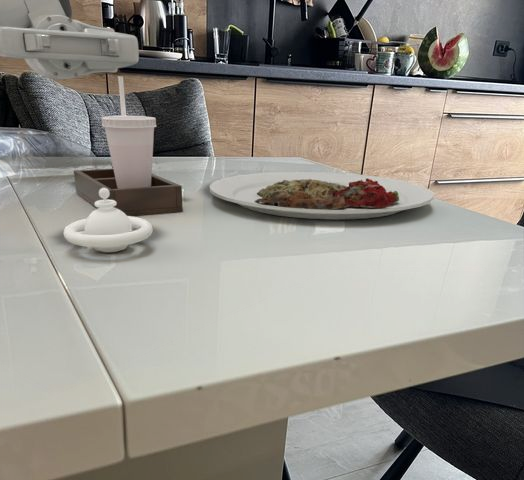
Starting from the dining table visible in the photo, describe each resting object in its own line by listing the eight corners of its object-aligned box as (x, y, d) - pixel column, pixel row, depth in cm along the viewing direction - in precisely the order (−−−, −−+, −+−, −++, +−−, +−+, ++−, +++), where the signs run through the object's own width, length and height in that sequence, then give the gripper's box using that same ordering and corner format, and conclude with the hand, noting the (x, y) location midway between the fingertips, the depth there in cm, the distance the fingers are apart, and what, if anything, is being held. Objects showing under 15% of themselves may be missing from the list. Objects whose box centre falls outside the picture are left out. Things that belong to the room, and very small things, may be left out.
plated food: (214, 182, 88) (213, 160, 86) (398, 184, 89) (400, 163, 88) (203, 225, 61) (202, 194, 59) (467, 228, 62) (472, 198, 61)
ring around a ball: (48, 251, 51) (104, 269, 47) (37, 189, 48) (95, 201, 44) (116, 233, 56) (171, 247, 52) (109, 176, 54) (167, 186, 50)
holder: (109, 218, 63) (106, 190, 62) (76, 193, 77) (73, 170, 76) (182, 211, 67) (181, 185, 66) (139, 189, 81) (137, 167, 80)
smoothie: (104, 197, 70) (92, 75, 64) (154, 194, 73) (146, 77, 66) (114, 207, 65) (101, 75, 59) (167, 204, 67) (160, 77, 61)
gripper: (-16, 19, 81) (-6, 10, 70) (121, 30, 90) (148, 23, 79) (-8, 67, 83) (2, 65, 73) (124, 72, 93) (151, 72, 82)
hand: (80, 43), depth 76 cm, fingers open, 8 cm apart
